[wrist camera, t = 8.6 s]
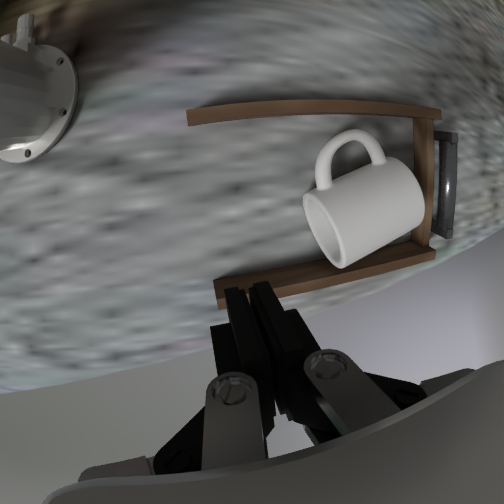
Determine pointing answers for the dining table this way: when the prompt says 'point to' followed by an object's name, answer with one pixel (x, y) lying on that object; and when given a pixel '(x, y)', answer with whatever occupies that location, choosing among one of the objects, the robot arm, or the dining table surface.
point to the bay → (386, 257)
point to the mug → (361, 202)
